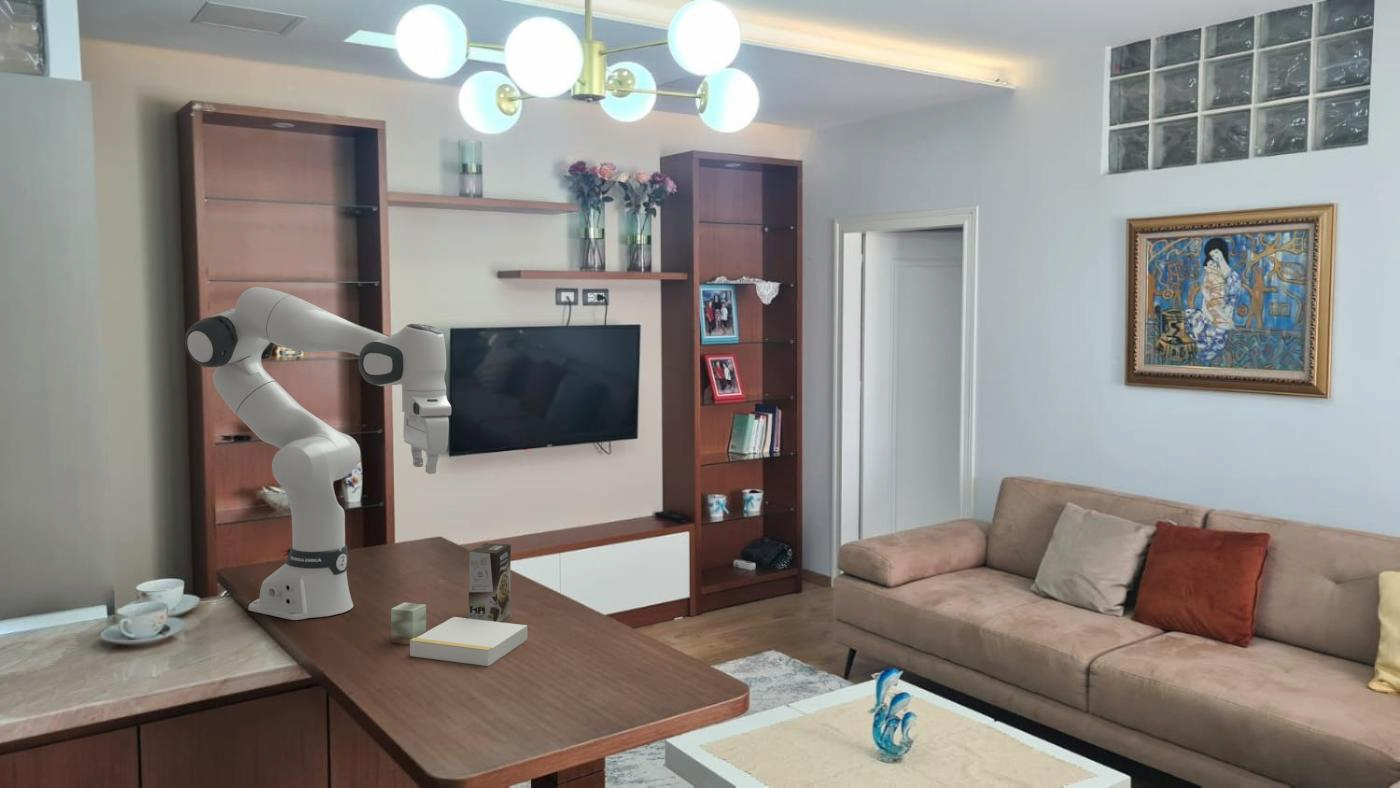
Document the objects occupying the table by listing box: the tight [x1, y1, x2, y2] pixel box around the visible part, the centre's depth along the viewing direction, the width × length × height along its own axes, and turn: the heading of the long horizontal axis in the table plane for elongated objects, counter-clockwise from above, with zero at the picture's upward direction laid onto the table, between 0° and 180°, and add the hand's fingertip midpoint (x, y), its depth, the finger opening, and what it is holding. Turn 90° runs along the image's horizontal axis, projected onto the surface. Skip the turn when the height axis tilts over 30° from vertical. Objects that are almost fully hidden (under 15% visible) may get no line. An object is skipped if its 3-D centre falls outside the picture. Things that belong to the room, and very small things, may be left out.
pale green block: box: [390, 601, 427, 646], centre depth 219 cm, size 5×5×7 cm
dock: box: [409, 616, 528, 667], centre depth 216 cm, size 17×17×3 cm
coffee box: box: [468, 542, 512, 622], centre depth 234 cm, size 9×6×16 cm
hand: (424, 469), depth 222 cm, fingers open, 8 cm apart
